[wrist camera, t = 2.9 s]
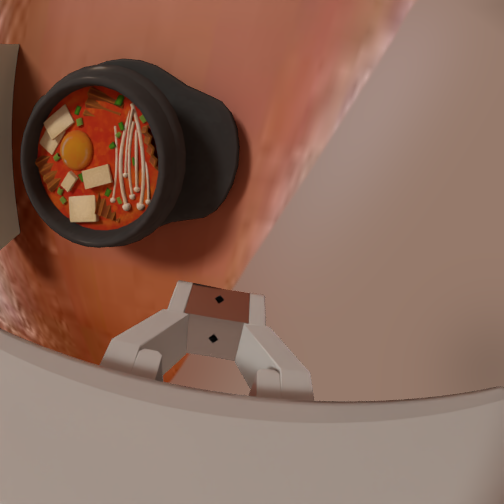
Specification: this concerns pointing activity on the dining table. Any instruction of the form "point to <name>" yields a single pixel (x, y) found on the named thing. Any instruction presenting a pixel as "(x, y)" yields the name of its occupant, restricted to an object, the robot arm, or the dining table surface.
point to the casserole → (126, 153)
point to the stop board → (7, 145)
